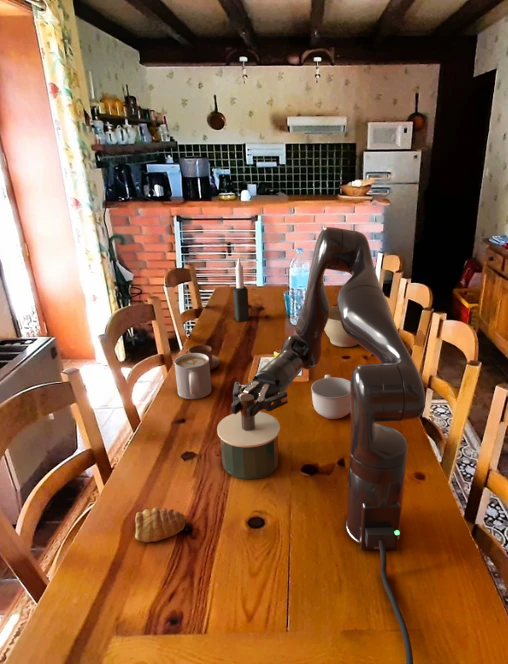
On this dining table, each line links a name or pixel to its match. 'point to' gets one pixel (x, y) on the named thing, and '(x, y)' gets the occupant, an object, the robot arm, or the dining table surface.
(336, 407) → the teacup
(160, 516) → the pastry
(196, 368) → the coffee mug
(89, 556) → the dining table surface
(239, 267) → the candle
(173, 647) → the dining table surface
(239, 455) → the green pot
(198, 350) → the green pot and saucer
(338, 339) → the planter bowl
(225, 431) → the lid
